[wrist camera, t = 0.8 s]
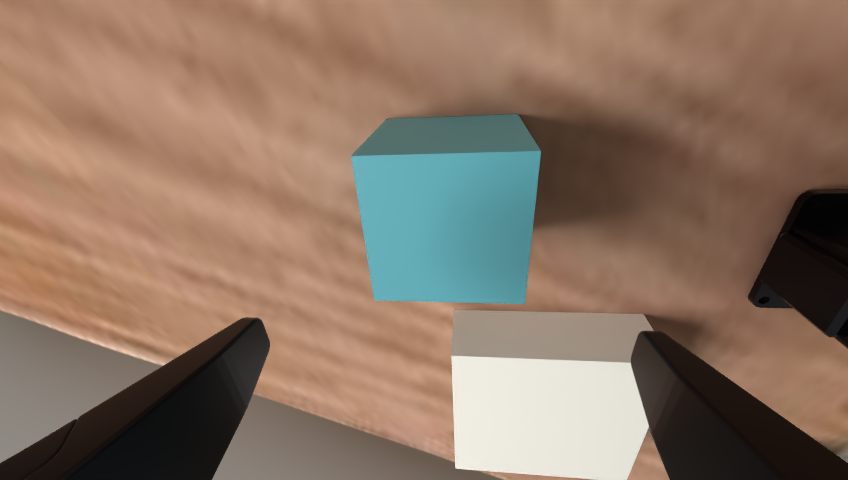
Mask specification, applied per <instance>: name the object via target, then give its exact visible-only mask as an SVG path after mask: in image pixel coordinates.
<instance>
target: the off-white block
mask: <svg viewBox="0 0 848 480" xmlns="http://www.w3.org/2000/svg"><path fill="white" fill-rule="evenodd" d="M641 331H654V330H653V329H652V327H651V325H650V324H649V322H648V321H647V319H646V317H645V316H644V314H617V313H572V312H527V311H483V310H454V319H453V338H452V382H453V411H454V440H455V467H456V469H469V470H481V471H494V472H507V473H520V474H532V475H545V476H558V477H571V478H583V479H596V480H627V478H628V476H629V473H630V471H631V468H632V466H633V464H634V461H635V459H636V456H637V454H638V452H639V449H640V447H641V444H642V442H643V440H644V437H645V435H646V432H647V430H648V428H649V425H648V422H647V418H646V415H645V411H644V408H643V405H642V401H641V398H640V394H639V391H638V388H637V384H636V381H635V377H634V374H633V371H632V367H631V355H632V351H633V348H634V345H635V342H636V339H637V336H638V334H639V333H640V332H641Z"/></svg>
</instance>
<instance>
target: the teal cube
mask: <svg viewBox="0 0 848 480" xmlns="http://www.w3.org/2000/svg"><path fill="white" fill-rule="evenodd" d="M540 157H541V150H540V148H539V147H538V145H537V144H536V142H535V141H534V139H533V137H532V136H531V134H530V133H529V131H528V130H527V128H526V126H525V125H524V123H523V122H522V120H521V118H520V117H519V115H518V114H503V115H477V116H451V117H425V118H399V119H386V120H385V121H384V122H383V123H382V124H381V125H380V126H379V128H378V129H377V130H376V131H375V132H374V133H373V134H372V135H371V136H370V137H369V138H368V139H367V140H366V141H365V142H364V143H363V144H362V145H361V146H360V147H359V148H358V149H357V150H356V151H355V152H354V153H353V155H352V156H351V159H352V165H353V171H354V177H355V184H356V190H357V196H358V202H359V208H360V215H361V221H362V227H363V233H364V239H365V246H366V252H367V258H368V264H369V270H370V277H371V283H372V289H373V295H374V300H384V301H425V302H467V303H508V304H525V297H526V288H527V279H528V269H529V260H530V250H531V241H532V232H533V222H534V213H535V204H536V194H537V185H538V176H539V166H540Z"/></svg>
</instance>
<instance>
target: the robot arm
mask: <svg viewBox="0 0 848 480" xmlns="http://www.w3.org/2000/svg"><path fill="white" fill-rule="evenodd" d="M814 199H815V200H814ZM813 200H814V201H813ZM811 201H813V203H811V204H809V203H810V202H811ZM748 299H749V301H750V302H751V303H752V304H753V305H755V306H756V307H760V308H794V309H795V310H796V311H797V312H799V313H800V314H801V315H802V316H803V317H805V318H806V319H807V320H808V321H809V322H811V323H812V324H813V325H814V326H815V327H816V328H818V329H819V330H820V331H821V332H822V333H824V334H825V335H826V336H828V337H834V338H835V339H837V340H838V341H839V342H840V343H841V344H843V345H844V346H845V347H846V348H847V349H848V190H811V191H807V192H805V193H803V194H801V195H800V196H799V197H798V198H797V200H796V201H795V203H794V205H793V207H792V209H791V211H790V213H789V215H788V217H787V219H786V221H785V223H784V225H783V227H782V229H781V231H780V233H779V235H778V237H777V239H776V241H775V243H774V245H773V247H772V249H771V251H770V253H769V255H768V257H767V259H766V261H765V263H764V265H763V267H762V269H761V271H760V273H759V275H758V277H757V279H756V281H755V283H754V285H753V287H752V289H751V291H750V293H749V296H748ZM269 348H270V341H269V338H268V335H267V333H266V330H265V327H264V325H263V322H262V320H261V319H259V318H250V317H246V318H242V319H240V320H238V321H237V322H235V323H233V324H232V325H230V326H228V327H227V328H225V329H223V330H222V331H220V332H218V333H217V334H215V335H213V336H212V337H210V338H208V339H207V340H205V341H204V342H202V343H200V344H199V345H197V346H195V347H194V348H192V349H190V350H189V351H187V352H185V353H184V354H182V355H180V356H179V357H177V358H175V359H174V360H172V361H170V362H169V363H167V364H165V365H164V366H162V367H160V368H159V369H157V370H156V371H154V372H153V373H151V374H149V375H147V376H146V377H144V378H143V379H141V380H139V381H137V382H136V383H134V384H132V385H131V386H129V387H127V388H126V389H124V390H123V391H121V392H119V393H118V394H116V395H114V396H113V397H111V398H109V399H108V400H106V401H104V402H103V403H101V404H99V405H98V406H96V407H94V408H93V409H91V410H89V411H88V412H86V413H84V414H83V415H81V416H80V417H79V418H78V419H75V420H73V421H71V422H69V423H68V424H66V425H65V426H63V427H61V428H60V429H58V430H56V431H55V432H53V433H51V434H50V435H48V436H46V437H45V438H43V439H41V440H40V441H38V442H36V443H34V444H33V445H31V446H29V447H28V448H26V449H24V450H23V451H21V452H19V453H17V454H16V455H14V456H12V457H10V458H8V459H7V460H5V461H3V462H1V463H0V480H212V478H213V476H214V474H215V472H216V470H217V468H218V466H219V464H220V462H221V460H222V458H223V456H224V454H225V452H226V450H227V448H228V446H229V444H230V442H231V440H232V438H233V436H234V434H235V432H236V430H237V428H238V426H239V424H240V421H241V420H242V418H243V415H244V413H245V411H246V409H247V407H248V404H249V402H250V399H251V397H252V394H253V392H254V389H255V387H256V384H257V381H258V379H259V376H260V373H261V371H262V368H263V365H264V363H265V360H266V357H267V355H268V352H269ZM631 367H632V371H633V374H634V377H635V381H636V384H637V388H638V391H639V394H640V398H641V401H642V405H643V408H644V411H645V415H646V418H647V422H648V425H649V428H650V431H651V434H652V437H653V440H654V442H655V445H656V447H657V450H658V452H659V455H660V457H661V459H662V462H663V464H664V467H665V469H666V471H667V474H668V476H669V479H670V480H848V463H847V462H845V461H844V460H843V459H841V458H840V457H838V456H837V455H836V454H834V453H833V452H831V451H830V450H828V449H827V448H826V447H824V446H823V445H821V444H820V443H819V442H817V441H816V440H814V439H813V438H812V437H810V436H809V435H807V434H806V433H804V432H803V431H802V430H800V429H799V428H797V427H796V426H795V425H793V424H792V423H790V422H789V421H788V420H786V419H785V418H783V417H782V416H780V415H779V414H778V413H776V412H775V411H773V410H772V409H771V408H769V407H768V406H766V405H765V404H764V403H762V402H761V401H759V400H758V399H756V398H755V397H754V396H752V395H751V394H749V393H748V392H747V391H745V390H744V389H742V388H741V387H740V386H738V385H737V384H735V383H734V382H732V381H731V380H730V379H728V378H727V377H725V376H724V375H723V374H721V373H720V372H718V371H717V370H716V369H714V368H713V367H711V366H710V365H708V364H707V363H706V362H704V361H703V360H701V359H700V358H699V357H697V356H696V355H694V354H693V353H692V352H690V351H689V350H687V349H686V348H684V347H683V346H682V345H680V344H679V343H677V342H676V341H675V340H673V339H672V338H670V337H669V336H667V335H666V334H665V333H663V332H660V331H641V332H640V333H639V334H638V336H637V339H636V342H635V345H634V348H633V351H632V355H631Z"/></svg>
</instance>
